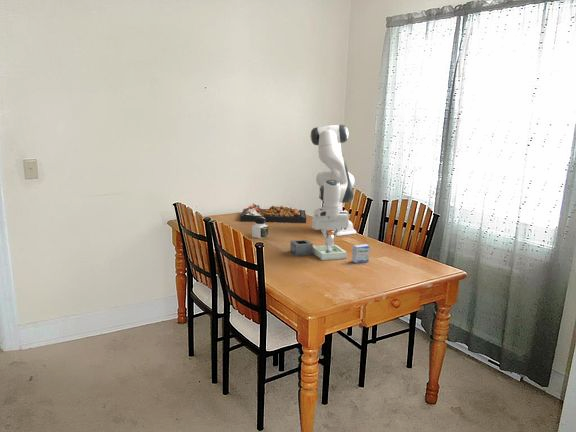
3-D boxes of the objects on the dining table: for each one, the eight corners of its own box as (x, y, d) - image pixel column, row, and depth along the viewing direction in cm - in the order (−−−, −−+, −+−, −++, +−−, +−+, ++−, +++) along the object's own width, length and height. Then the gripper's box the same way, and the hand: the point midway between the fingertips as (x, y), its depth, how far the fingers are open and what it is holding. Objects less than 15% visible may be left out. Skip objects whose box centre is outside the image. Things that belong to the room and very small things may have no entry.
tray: (335, 250, 265) (335, 244, 264) (346, 258, 252) (346, 252, 251) (312, 252, 261) (312, 246, 260) (321, 260, 248) (322, 254, 247)
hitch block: (306, 249, 265) (306, 239, 264) (312, 254, 257) (312, 244, 255) (290, 251, 262) (290, 240, 261) (295, 256, 254) (296, 245, 252)
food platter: (240, 222, 327) (240, 207, 324) (243, 214, 350) (243, 200, 348) (306, 224, 327) (306, 209, 324) (304, 216, 351) (305, 202, 348)
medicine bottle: (260, 239, 285) (261, 219, 282) (251, 236, 289) (251, 217, 286) (268, 236, 290) (268, 217, 288) (259, 234, 294) (259, 215, 292)
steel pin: (331, 250, 259) (332, 229, 256) (334, 253, 255) (335, 231, 252) (323, 251, 257) (324, 229, 255) (326, 253, 253) (328, 231, 251)
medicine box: (356, 263, 245) (357, 247, 243) (351, 261, 248) (352, 245, 246) (368, 261, 248) (369, 245, 246) (363, 259, 252) (364, 243, 250)
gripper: (346, 209, 257) (345, 233, 260) (311, 210, 251) (310, 236, 254) (351, 211, 251) (350, 236, 255) (315, 213, 245) (314, 239, 248)
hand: (329, 236), depth 254 cm, fingers closed on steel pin, 4 cm apart
